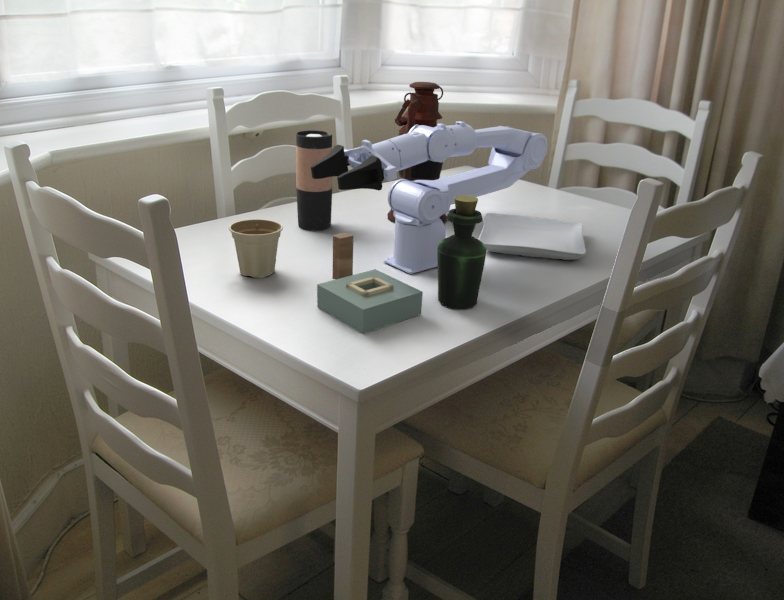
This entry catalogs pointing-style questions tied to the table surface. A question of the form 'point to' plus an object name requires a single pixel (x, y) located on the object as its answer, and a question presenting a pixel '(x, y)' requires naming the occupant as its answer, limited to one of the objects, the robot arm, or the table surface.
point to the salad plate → (533, 236)
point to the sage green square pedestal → (369, 300)
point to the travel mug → (313, 181)
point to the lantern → (421, 113)
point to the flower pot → (256, 245)
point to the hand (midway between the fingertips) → (325, 178)
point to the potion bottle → (461, 257)
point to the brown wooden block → (342, 255)
